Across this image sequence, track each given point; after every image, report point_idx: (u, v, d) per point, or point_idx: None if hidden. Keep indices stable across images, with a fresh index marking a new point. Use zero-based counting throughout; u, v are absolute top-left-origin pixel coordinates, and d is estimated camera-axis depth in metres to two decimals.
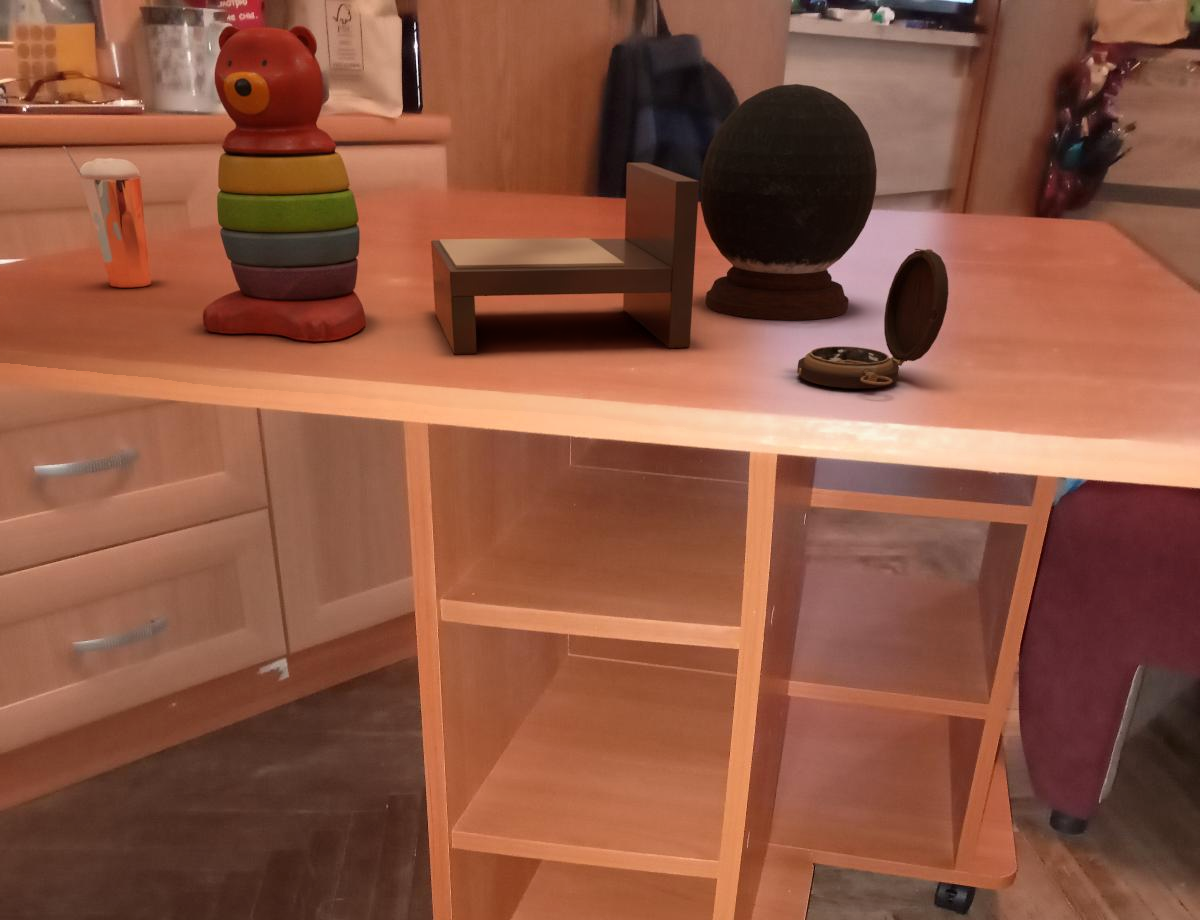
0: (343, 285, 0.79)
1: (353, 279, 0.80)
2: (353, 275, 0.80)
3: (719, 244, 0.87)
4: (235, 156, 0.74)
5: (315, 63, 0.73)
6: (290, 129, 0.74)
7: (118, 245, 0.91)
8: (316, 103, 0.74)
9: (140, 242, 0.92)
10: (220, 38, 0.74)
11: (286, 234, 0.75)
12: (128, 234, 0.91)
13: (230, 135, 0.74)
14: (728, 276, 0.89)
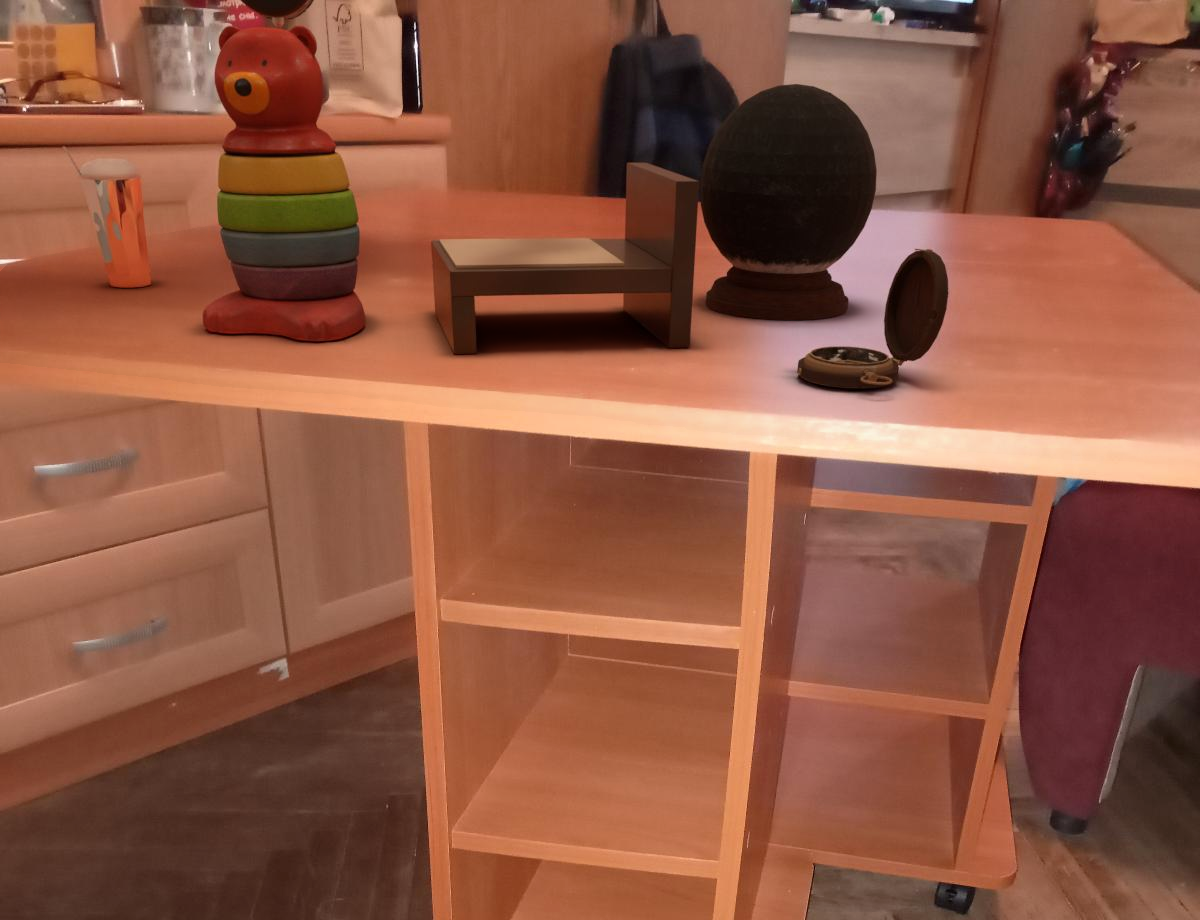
0: (343, 285, 0.79)
1: (353, 279, 0.80)
2: (353, 275, 0.80)
3: (719, 244, 0.87)
4: (235, 156, 0.74)
5: (315, 63, 0.73)
6: (290, 129, 0.74)
7: (118, 245, 0.91)
8: (316, 103, 0.74)
9: (140, 242, 0.92)
10: (220, 38, 0.74)
11: (286, 234, 0.75)
12: (128, 234, 0.91)
13: (230, 135, 0.74)
14: (728, 276, 0.89)
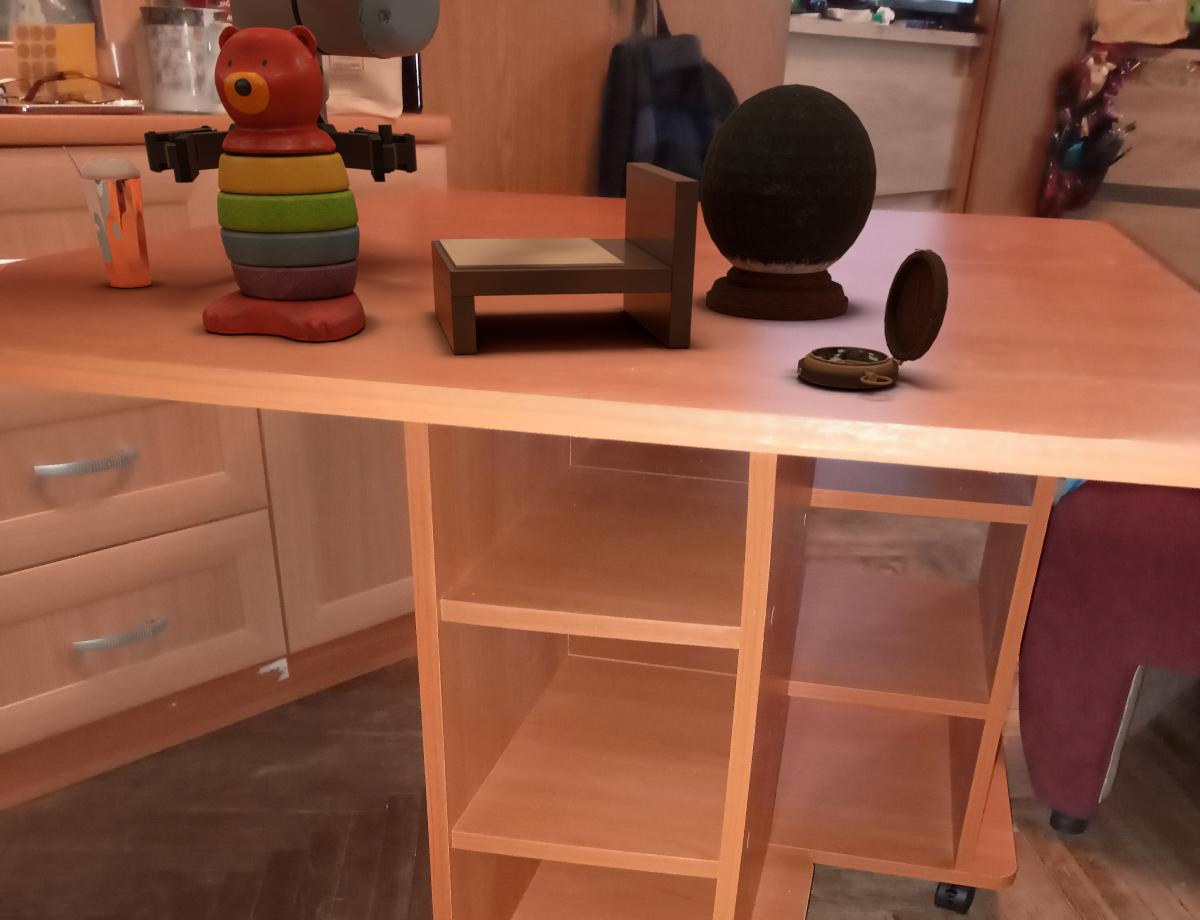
0: (343, 285, 0.79)
1: (353, 279, 0.80)
2: (353, 275, 0.80)
3: (719, 244, 0.87)
4: (235, 156, 0.74)
5: (315, 63, 0.73)
6: (290, 129, 0.74)
7: (118, 245, 0.91)
8: (316, 103, 0.74)
9: (140, 242, 0.92)
10: (220, 38, 0.74)
11: (286, 234, 0.75)
12: (128, 234, 0.91)
13: (230, 135, 0.74)
14: (728, 276, 0.89)
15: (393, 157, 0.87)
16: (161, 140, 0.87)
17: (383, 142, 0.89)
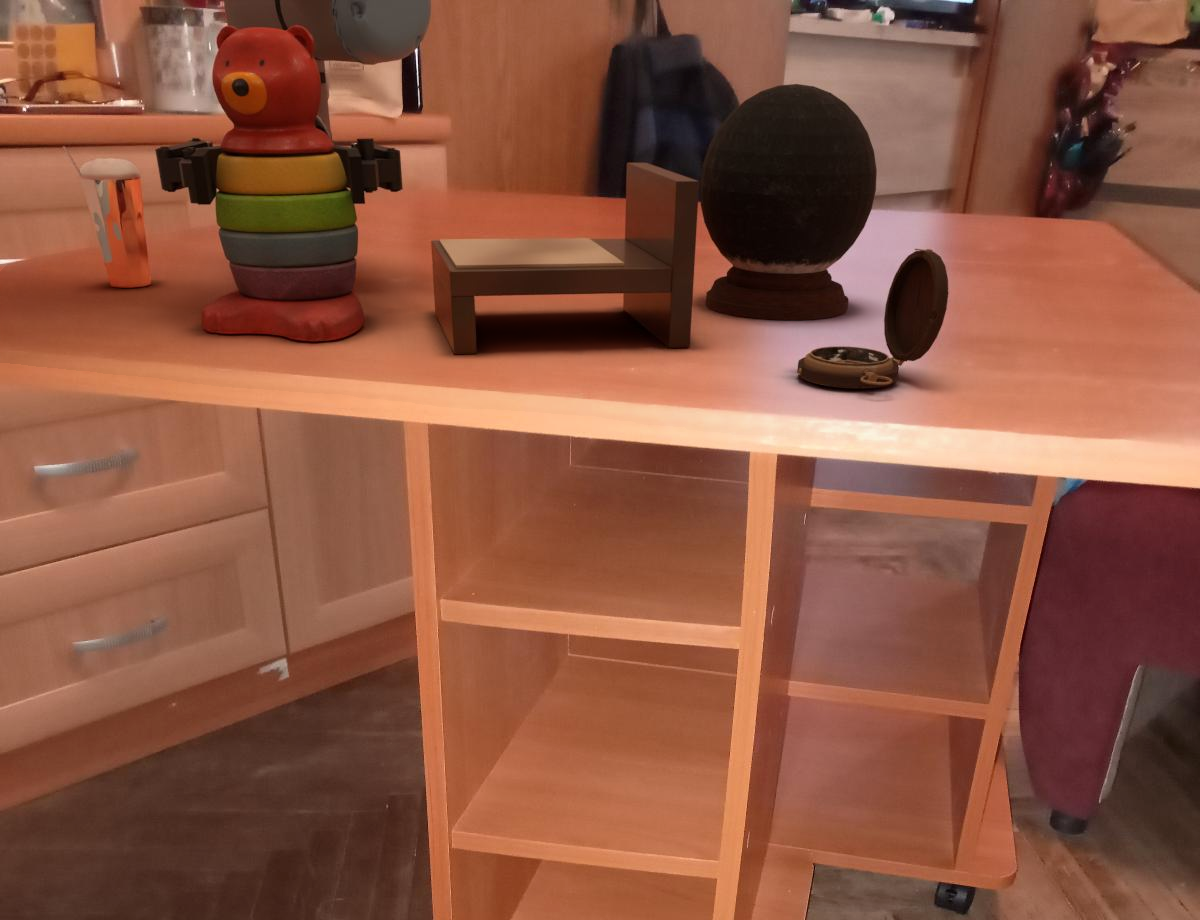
0: (342, 285, 0.79)
1: (351, 279, 0.80)
2: (351, 275, 0.80)
3: (719, 244, 0.87)
4: (233, 156, 0.74)
5: (313, 63, 0.73)
6: (288, 129, 0.74)
7: (118, 245, 0.91)
8: (314, 103, 0.74)
9: (140, 242, 0.92)
10: (218, 38, 0.73)
11: (284, 234, 0.75)
12: (128, 234, 0.91)
13: (228, 135, 0.74)
14: (728, 276, 0.89)
15: (375, 175, 0.77)
16: (175, 156, 0.78)
17: (364, 158, 0.79)
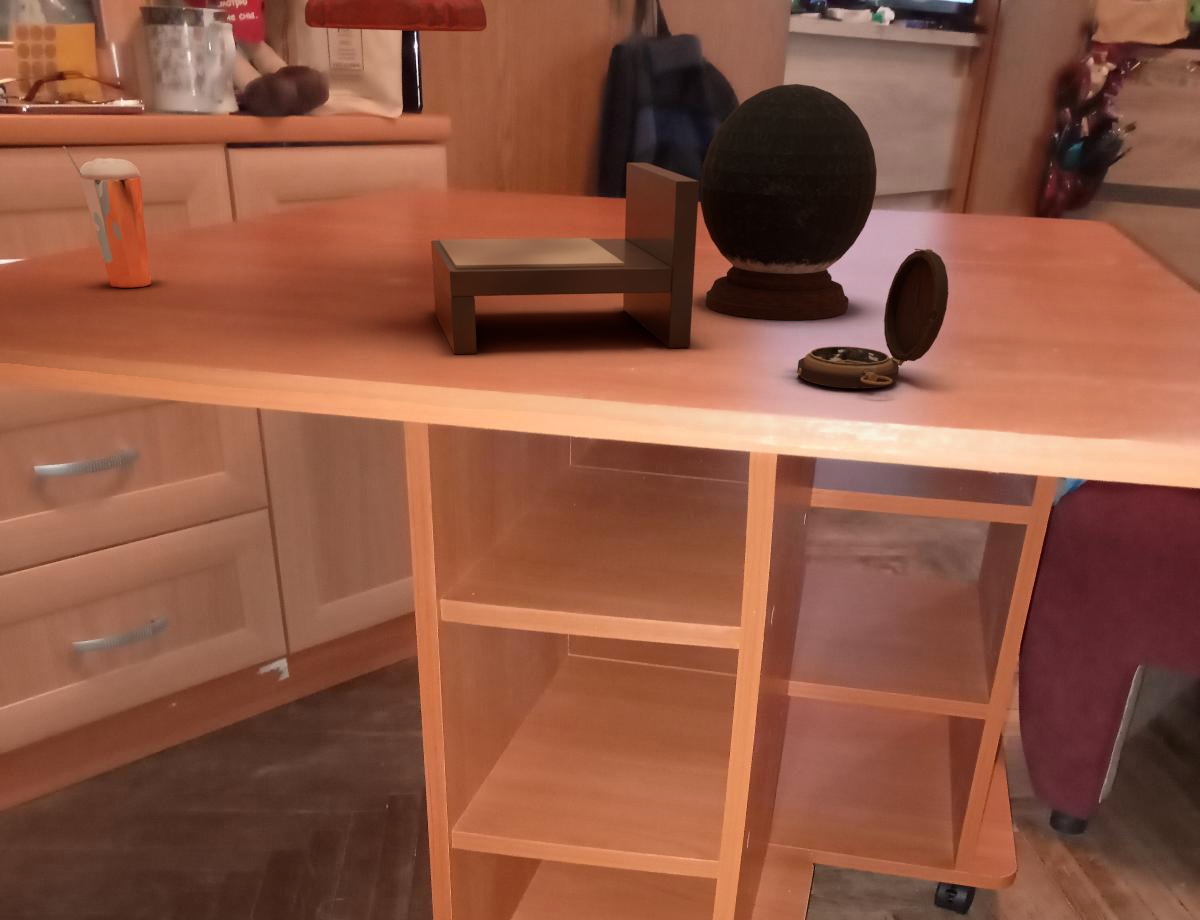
0: None
1: None
2: None
3: (719, 244, 0.87)
4: None
5: None
6: None
7: (118, 245, 0.91)
8: None
9: (140, 242, 0.92)
10: None
11: None
12: (128, 234, 0.91)
13: None
14: (728, 276, 0.89)
15: None
16: None
17: None
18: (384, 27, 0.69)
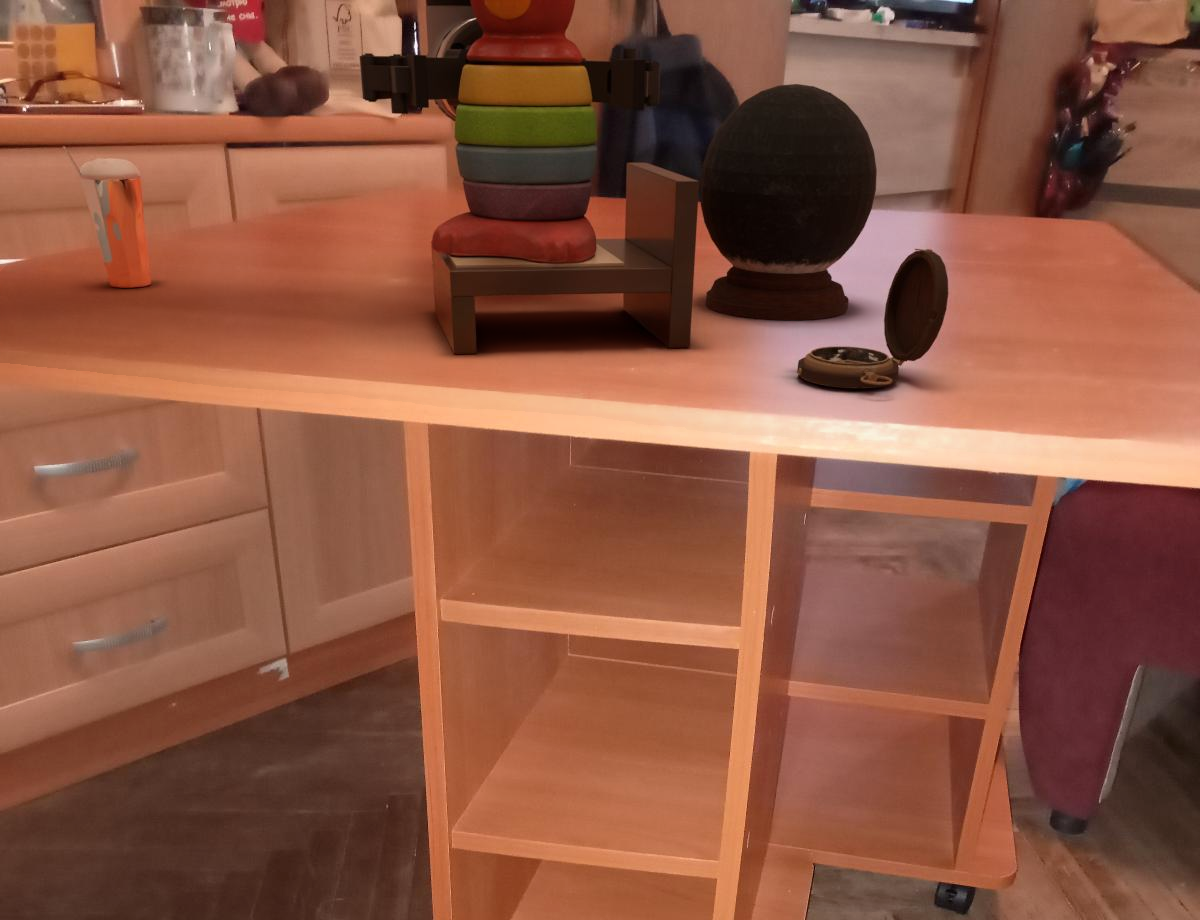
0: (581, 206, 0.76)
1: (588, 201, 0.77)
2: (589, 196, 0.77)
3: (719, 244, 0.87)
4: (485, 65, 0.71)
5: None
6: (544, 36, 0.70)
7: (118, 245, 0.91)
8: (571, 10, 0.71)
9: (140, 242, 0.92)
10: None
11: (534, 148, 0.72)
12: (128, 234, 0.91)
13: (479, 43, 0.71)
14: (728, 276, 0.89)
15: (645, 84, 0.75)
16: (378, 64, 0.75)
17: None
18: (506, 256, 0.76)
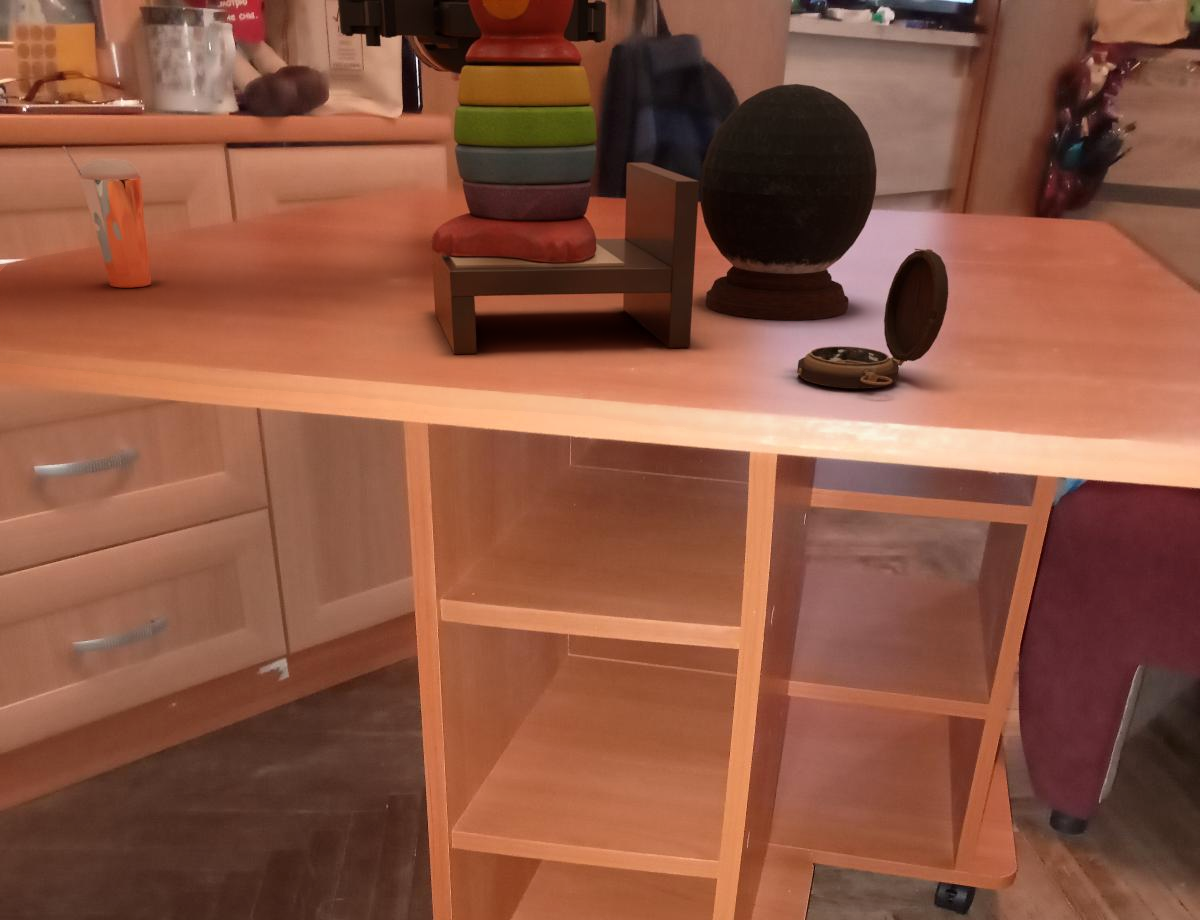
0: (580, 206, 0.76)
1: (588, 201, 0.77)
2: (588, 196, 0.77)
3: (719, 244, 0.87)
4: (484, 66, 0.71)
5: None
6: (543, 36, 0.70)
7: (118, 245, 0.91)
8: (569, 10, 0.71)
9: (140, 242, 0.92)
10: None
11: (533, 148, 0.72)
12: (128, 234, 0.91)
13: (478, 44, 0.71)
14: (728, 276, 0.89)
15: (591, 19, 0.85)
16: (354, 1, 0.85)
17: None
18: (506, 256, 0.76)
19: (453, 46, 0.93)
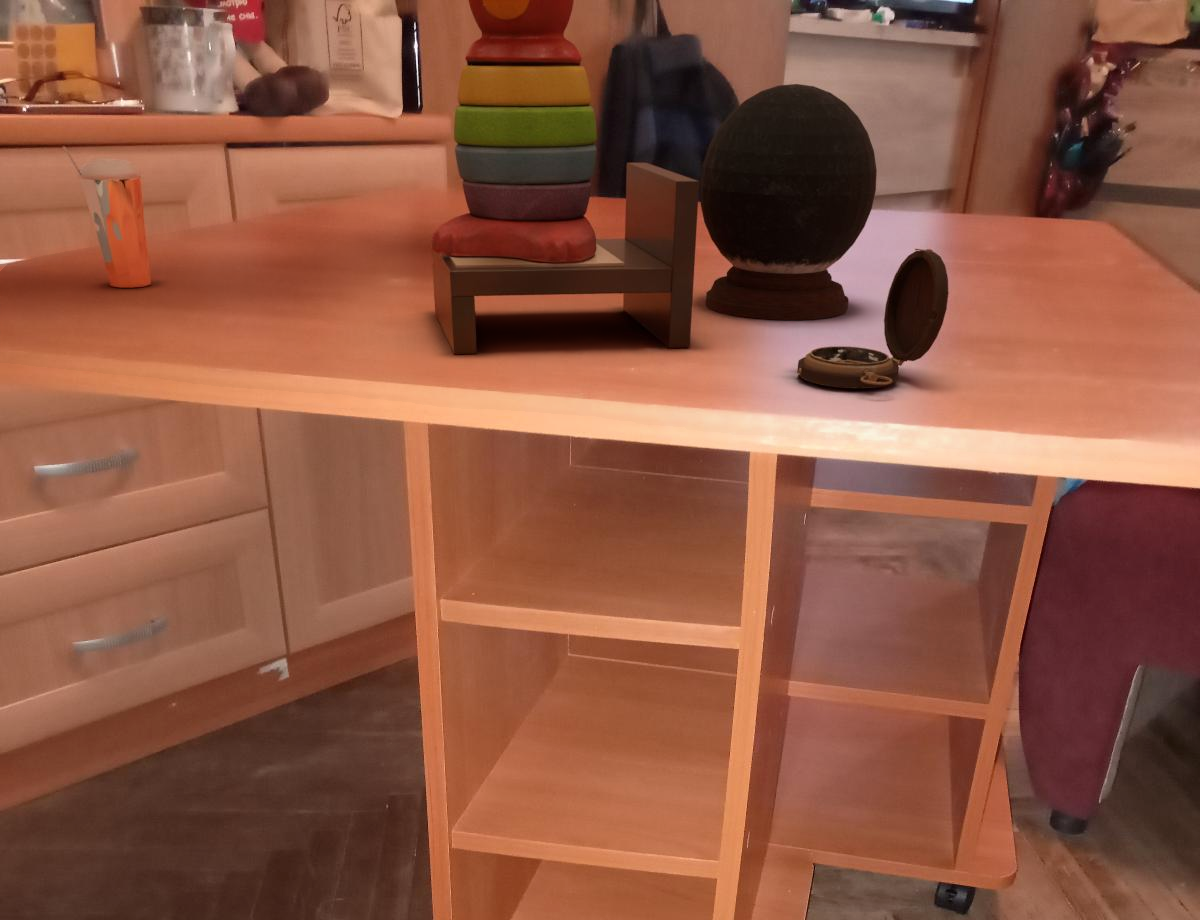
0: (580, 206, 0.76)
1: (588, 201, 0.77)
2: (588, 196, 0.77)
3: (719, 244, 0.87)
4: (484, 66, 0.71)
5: None
6: (543, 36, 0.70)
7: (118, 245, 0.91)
8: (569, 10, 0.71)
9: (140, 242, 0.92)
10: None
11: (533, 148, 0.72)
12: (128, 234, 0.91)
13: (478, 44, 0.71)
14: (728, 276, 0.89)
15: None
16: None
17: None
18: (506, 256, 0.76)
19: None
